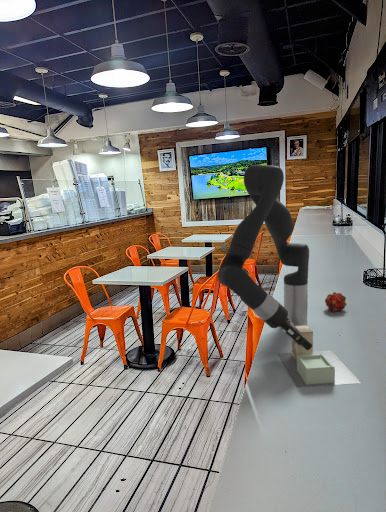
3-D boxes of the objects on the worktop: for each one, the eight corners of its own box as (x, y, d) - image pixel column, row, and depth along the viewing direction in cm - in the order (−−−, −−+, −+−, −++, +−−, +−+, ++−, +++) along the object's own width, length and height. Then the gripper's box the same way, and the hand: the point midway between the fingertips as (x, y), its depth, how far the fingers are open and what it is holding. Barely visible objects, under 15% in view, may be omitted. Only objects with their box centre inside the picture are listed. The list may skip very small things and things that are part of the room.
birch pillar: (291, 354, 112) (291, 326, 110) (306, 353, 112) (307, 325, 110) (296, 362, 107) (297, 332, 105) (312, 361, 107) (313, 331, 106)
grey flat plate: (277, 356, 114) (277, 353, 114) (330, 352, 114) (330, 350, 114) (296, 390, 94) (296, 387, 94) (361, 386, 94) (361, 383, 94)
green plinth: (296, 369, 103) (296, 355, 102) (323, 368, 103) (323, 353, 102) (306, 384, 95) (306, 368, 94) (334, 382, 95) (335, 366, 94)
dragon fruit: (341, 309, 158) (333, 321, 149) (325, 297, 161) (317, 308, 152) (352, 297, 153) (345, 308, 144) (336, 285, 156) (328, 295, 147)
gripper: (284, 309, 99) (322, 343, 101) (271, 294, 113) (305, 325, 115) (266, 327, 100) (304, 361, 102) (256, 310, 114) (290, 340, 116)
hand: (305, 342), depth 109 cm, fingers open, 8 cm apart
